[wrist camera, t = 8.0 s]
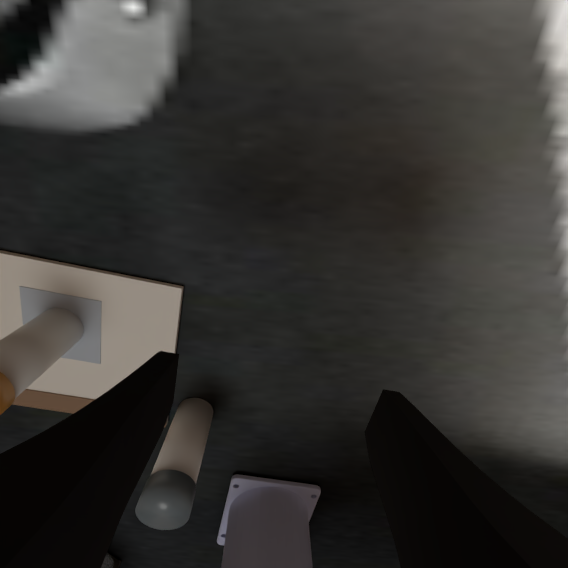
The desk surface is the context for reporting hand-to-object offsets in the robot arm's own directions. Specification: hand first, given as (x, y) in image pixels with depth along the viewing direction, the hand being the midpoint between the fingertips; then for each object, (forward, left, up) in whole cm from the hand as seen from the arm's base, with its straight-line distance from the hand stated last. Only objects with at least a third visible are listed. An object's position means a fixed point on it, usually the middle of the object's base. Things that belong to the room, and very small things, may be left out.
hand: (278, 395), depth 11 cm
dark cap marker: (-12, +4, -10) cm, 16 cm away
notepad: (-8, +13, -10) cm, 18 cm away
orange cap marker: (-6, +14, -10) cm, 18 cm away
